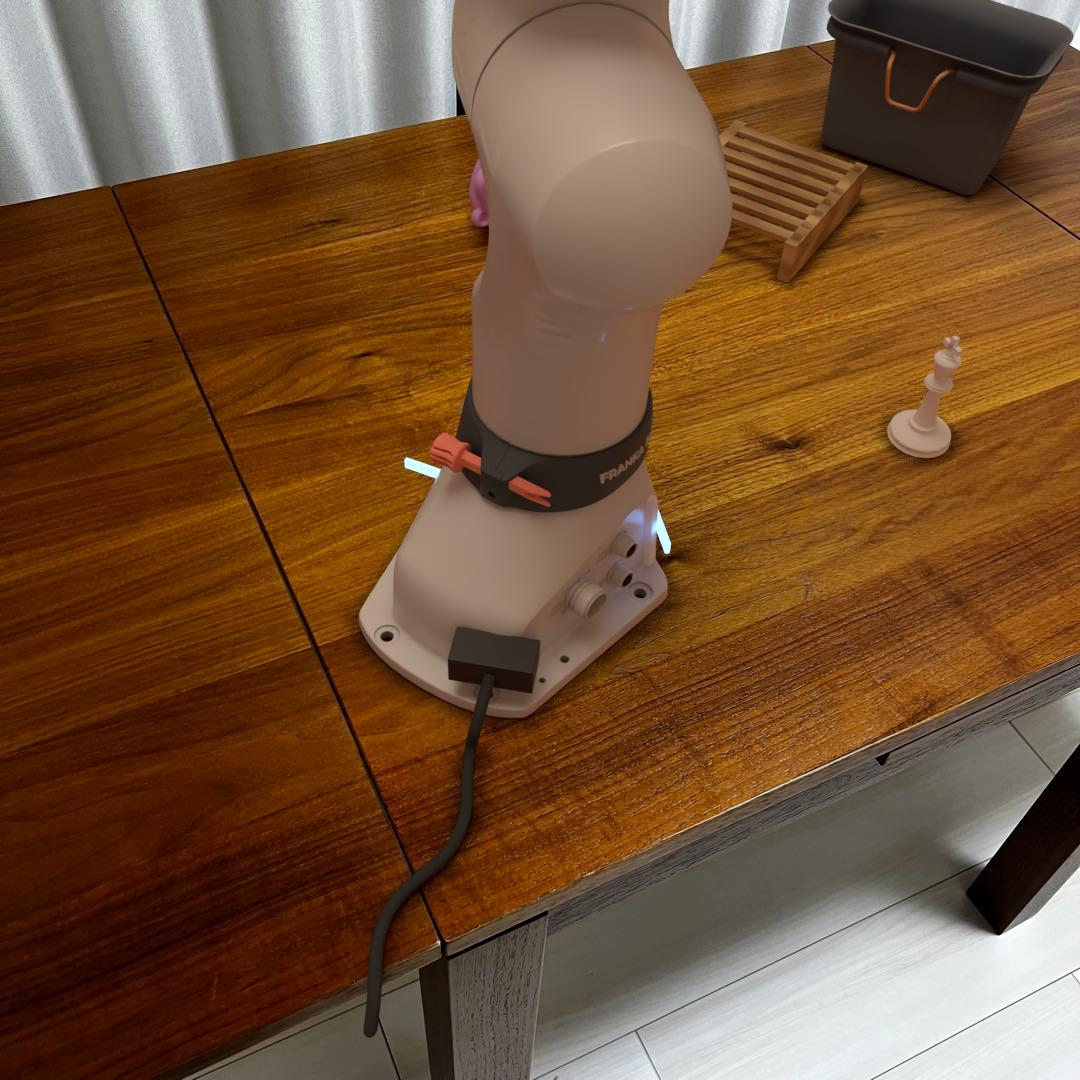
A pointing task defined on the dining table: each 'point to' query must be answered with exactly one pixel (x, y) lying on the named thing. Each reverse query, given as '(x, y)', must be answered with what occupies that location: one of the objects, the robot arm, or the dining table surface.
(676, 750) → the dining table surface
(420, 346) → the dining table surface
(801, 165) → the rack
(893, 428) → the chess piece
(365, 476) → the dining table surface
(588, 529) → the robot arm
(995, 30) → the storage bin
